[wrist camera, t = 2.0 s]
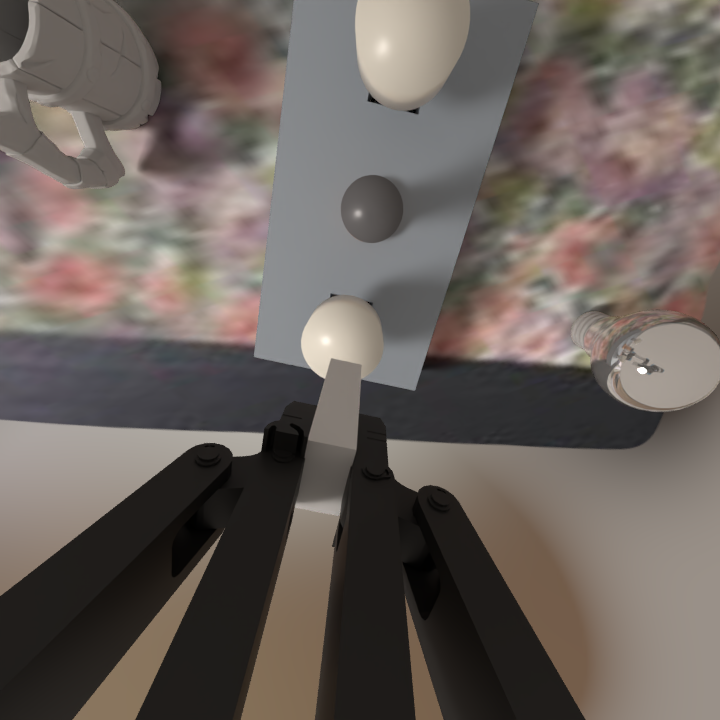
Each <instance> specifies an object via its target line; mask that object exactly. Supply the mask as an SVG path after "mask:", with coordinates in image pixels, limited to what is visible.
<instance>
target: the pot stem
mask: <svg viewBox="0 0 720 720" xmlns="http://www.w3.org/2000/svg"><path fill="white" fill-rule="evenodd" d="M402 216H403V201H402V197H401V195H400V192H399V191H398V189H397V187H396V186H395V185H394V184H393V183H392V182H391V181H389V180H388V179H386V178H384V177H382V176H378V175H367V176H363V177H361V178H358V179H357V180H355V181H354V182H353V183H352V184H351V185H350V186H349V187H348V188H347V190H346V191H345V193H344V196H343V198H342V202H341V217H342V221H343V223H344V226H345V227H346V229H347V231H348V232H349V233H350V234H351V235H352V236H353V237H354V238H356V239H357V240H359V241H362V242H366V243H377V242H381V241H384V240H386V239H387V238H389V237H390V236H391V235H392V234H393V233H394V232H395V231H396V230H397V228H398V227H399V225H400V223H401V220H402Z"/></svg>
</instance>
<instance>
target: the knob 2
mask: <svg viewBox="0 0 720 720" xmlns="http://www.w3.org/2000/svg"><path fill="white" fill-rule="evenodd" d="M469 25H470V2H469V0H358V2H357V7H356V15H355V33H356V49H357V62H358V68H359V72H360V75H361V79H362V81H363V83H364V85H365V87H366V89H367V90H368V92H369V93H370V94H371V96H372V97H373V98H374V99H375V100H376V101H378V102H379V103H380V104H382V105H384V106H385V107H387V108H390V109H393V110H398V111H407V110H413V109H416V108H419V107H421V106H423V105H425V104H426V103H428V102H429V101H430V100H431V99H433V98H434V97H435V96H436V95H437V93H438V92H439V91H440V90H441V88H442V87H443V85H444V84H445V82H446V80H447V78H448V77H449V75H450V73H451V71H452V70H453V68H454V66H455V65H456V63H457V61H458V59H459V58H460V56H461V53H462V51H463V49H464V46H465V43H466V40H467V36H468V31H469Z"/></svg>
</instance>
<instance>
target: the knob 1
mask: <svg viewBox="0 0 720 720" xmlns="http://www.w3.org/2000/svg"><path fill="white" fill-rule="evenodd" d="M301 348H302V353H303V356H304V358H305V360H306V362H307V364H308V365H309V367H310V368H311V369H312V370H313V371H314V372H315V373H316V374H318V375H319V376H321V377H323V378H324V379H325V377H326V374H327V371H328V367H329V364H330V360H331V358H333V359H338V360H342V361H347V362H352V363H356V364H361V365H362V369H361V379H362V378H364V377H366V376H367V375H369V374H370V373H371V372H372V371H373V370H374V369H375V368H376V367H377V365H378V364H379V362H380V360H381V357H382V354H383V349H384V342H383V333H382V326H381V321H380V318H379V316H378V314H377V312H376V311H375V310H374V308H373V307H372V306H371V305H370V304H369V303H367V302H366V301H364V300H363V299H361V298H358V297H355V296H351V295H337V296H333V297H331V298H328V299H326V300H325V301H323V302H322V303H320V304H319V305H318V306H317V308H316V309H315V310H314V312H313V314H312V315H311V317H310V319H309V321H308V322H307V324H306V326H305V328H304V330H303V333H302V338H301Z"/></svg>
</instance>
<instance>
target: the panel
mask: <svg viewBox="0 0 720 720" xmlns="http://www.w3.org/2000/svg"><path fill="white" fill-rule="evenodd" d="M357 2H358V0H294V4H293V13H292V22H291V31H290V40H289V49H288V58H287V66H286V75H285V84H284V93H283V102H282V111H281V120H280V129H279V138H278V147H277V156H276V165H275V174H274V183H273V191H272V200H271V209H270V218H269V227H268V236H267V245H266V254H265V263H264V272H263V281H262V290H261V299H260V307H259V316H258V325H257V334H256V343H255V352H254V357H257V358H262V359H266V360H271V361H276V362H281V363H285V364H290V365H295V366H300V367H305V368H309V369H311V368H310V367H309V365H308V364H307V362H306V360H305V358H304V356H303V353H302V348H301V338H302V333H303V330H304V328H305V326H306V324H307V322H308V321H309V319H310V317H311V315H312V314H313V312H314V310H315V309H316V308H317V306H318V305H319V304H320V303H322V302H323V301H325V300H326V299H328V298H331V297H333V294H336V295H351V296H355V297H358V298H361V299H363V300H364V301H367V302H370V305H371V306H372V307H373V308H374V310H375V311H376V312H377V314H378V316H379V318H380V321H381V326H382V333H383V342H384V349H383V354H382V357H381V360H380V362H379V364H378V365H377V367H376V368H375V369H374V370H373V371H372V372H371V373H370V374H369V375H367V376H366V377H364V378H362V380H367V381H371V382H376V383H381V384H386V385H390V386H395V387H400V388H405V389H410V390H414V391H415V388H416V385H417V382H418V379H419V376H420V373H421V370H422V367H423V363H424V360H425V357H426V354H427V351H428V348H429V345H430V342H431V338H432V335H433V332H434V329H435V326H436V323H437V320H438V317H439V313H440V310H441V307H442V304H443V301H444V298H445V295H446V292H447V289H448V285H449V282H450V279H451V276H452V273H453V270H454V267H455V264H456V260H457V257H458V254H459V251H460V248H461V245H462V242H463V239H464V236H465V232H466V229H467V226H468V223H469V220H470V217H471V214H472V211H473V207H474V204H475V201H476V198H477V195H478V192H479V189H480V186H481V182H482V179H483V176H484V173H485V170H486V167H487V164H488V161H489V158H490V154H491V151H492V148H493V145H494V142H495V139H496V136H497V133H498V129H499V126H500V123H501V120H502V117H503V114H504V111H505V108H506V104H507V101H508V98H509V95H510V92H511V89H512V86H513V83H514V80H515V76H516V73H517V70H518V67H519V64H520V61H521V58H522V55H523V51H524V48H525V45H526V42H527V39H528V36H529V33H530V30H531V26H532V23H533V20H534V17H535V14H536V11H537V8H538V5H539V3H536V2H532V1H529V0H469V2H470V25H469V31H468V36H467V40H466V43H465V46H464V49H463V51H462V53H461V56H460V58H459V59H458V61H457V63H456V65H455V66H454V68H453V70H452V71H451V73H450V75H449V77H448V78H447V80H446V82H445V84H444V85H443V87H442V88H441V90H440V91H439V92H438V93H437V95H436V96H435V97H434V98H433V99H431V100H430V101H429V102H428V103H426V104H425V105H423V106H421V107H419V108H416V111H415V114H414V113H410V112H406V111H398V110H393V109H390V108H387V107H385V106H384V105H380V104H376V103H372V102H370V101H371V94H370V93H369V92H368V90H367V89H366V87H365V85H364V83H363V81H362V79H361V75H360V72H359V68H358V62H357V49H356V33H355V15H356V7H357ZM367 175H378V176H382V177H384V178H386V179H388V180H389V181H391V182H392V183H393V184H394V185H395V186H396V187H397V189H398V191H399V192H400V195H401V197H402V201H403V216H402V220H401V223H400V225H399V227H398V228H397V230H396V231H395V232H394V233H393V234H392V235H391V236H390V237H389V238H387V239H386V240H384V241H381V242H377V243H366V242H362V241H359V240H357V239H356V238H354V237H353V236H352V235H351V234H350V233H349V232H348V231H347V229H346V227H345V226H344V223H343V221H342V217H341V202H342V198H343V196H344V193H345V191H346V190H347V188H348V187H349V186H350V185H351V184H352V183H353V182H354V181H355V180H357V179H358V178H361V177H363V176H367Z"/></svg>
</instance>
